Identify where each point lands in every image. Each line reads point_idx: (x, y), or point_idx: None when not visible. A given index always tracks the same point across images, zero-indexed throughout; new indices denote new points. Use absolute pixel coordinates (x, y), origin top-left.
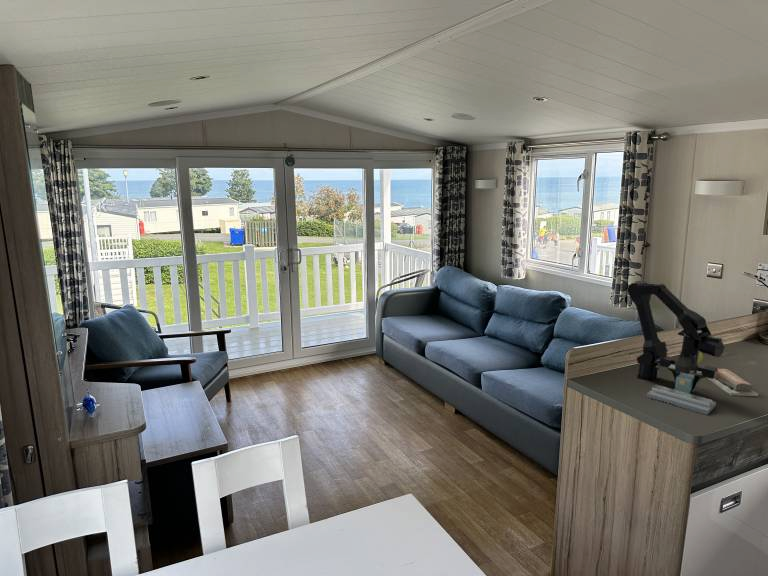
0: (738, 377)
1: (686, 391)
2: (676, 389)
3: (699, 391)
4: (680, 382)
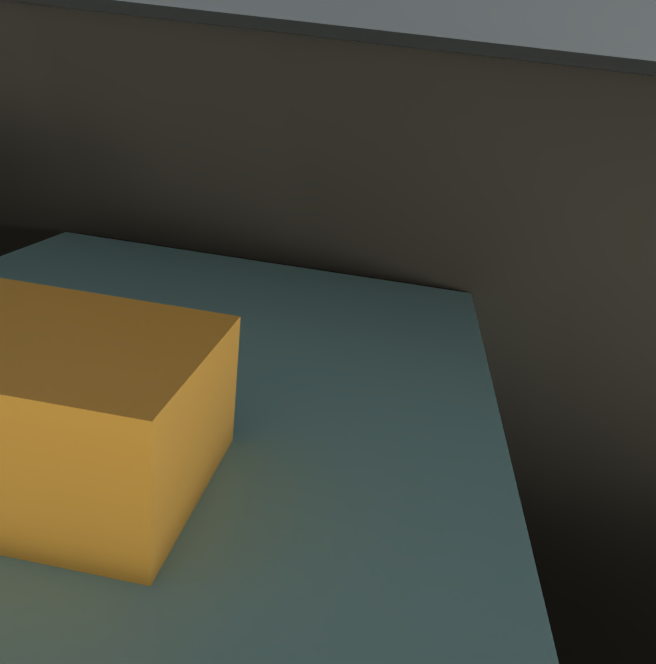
0: None
1: (70, 274)
2: (414, 323)
3: None
4: (155, 365)
